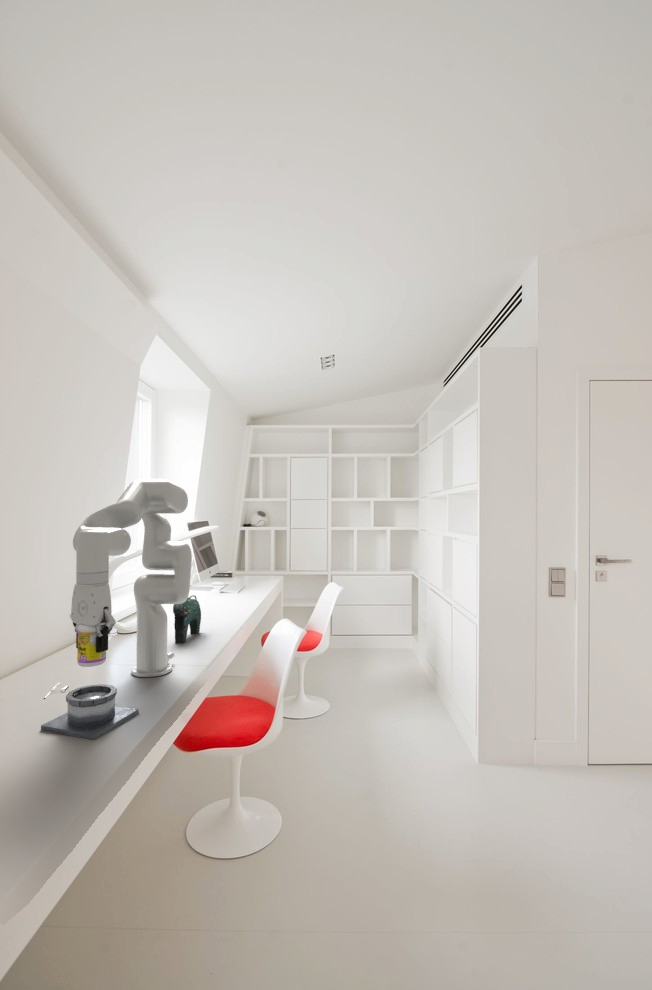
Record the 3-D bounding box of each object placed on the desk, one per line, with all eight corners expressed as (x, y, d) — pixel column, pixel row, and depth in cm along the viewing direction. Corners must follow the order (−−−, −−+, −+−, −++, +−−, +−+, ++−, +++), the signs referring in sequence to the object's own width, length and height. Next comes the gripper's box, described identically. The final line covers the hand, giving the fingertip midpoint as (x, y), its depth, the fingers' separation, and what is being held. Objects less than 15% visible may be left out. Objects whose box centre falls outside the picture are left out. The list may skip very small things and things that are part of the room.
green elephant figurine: (184, 645, 205) (184, 593, 205) (168, 644, 206) (168, 592, 206) (203, 632, 225) (204, 585, 225) (189, 631, 226) (189, 584, 226)
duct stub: (89, 706, 144) (89, 678, 144) (138, 713, 139) (138, 685, 139) (40, 730, 129) (41, 699, 129) (94, 739, 124) (94, 708, 124)
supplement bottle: (74, 662, 135) (74, 612, 135) (101, 658, 139) (101, 608, 139) (81, 669, 130) (82, 616, 130) (109, 664, 134) (109, 613, 134)
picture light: (58, 684, 163) (58, 677, 163) (73, 683, 164) (73, 676, 164) (42, 701, 149) (42, 693, 149) (59, 700, 150) (59, 692, 150)
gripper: (57, 578, 135) (56, 648, 135) (103, 583, 127) (102, 658, 127) (83, 574, 142) (82, 641, 142) (128, 579, 134) (128, 650, 133)
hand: (92, 648), depth 134 cm, fingers closed on supplement bottle, 6 cm apart
